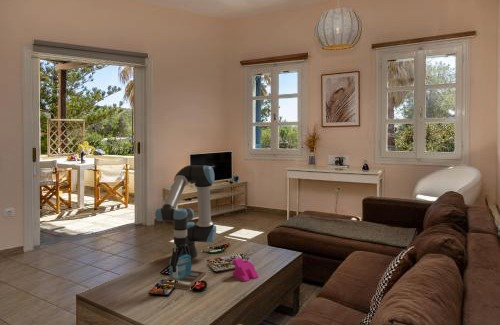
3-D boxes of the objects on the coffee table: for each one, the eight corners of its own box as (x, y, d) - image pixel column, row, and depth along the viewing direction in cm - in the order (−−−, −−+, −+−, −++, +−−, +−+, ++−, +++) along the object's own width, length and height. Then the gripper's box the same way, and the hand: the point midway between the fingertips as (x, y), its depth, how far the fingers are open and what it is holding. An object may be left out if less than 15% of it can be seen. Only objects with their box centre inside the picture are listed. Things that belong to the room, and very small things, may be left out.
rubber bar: (181, 274, 231) (181, 271, 230) (199, 276, 227) (199, 273, 227) (178, 276, 227) (178, 273, 227) (196, 279, 223) (196, 276, 223)
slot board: (180, 272, 235) (180, 268, 235) (206, 276, 230) (206, 271, 230) (161, 286, 214) (161, 281, 214) (190, 290, 209) (190, 286, 209)
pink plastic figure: (232, 275, 232) (232, 259, 231) (246, 271, 238) (246, 255, 237) (244, 282, 222) (245, 264, 221) (258, 277, 229) (258, 261, 228)
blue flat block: (174, 281, 211) (174, 260, 210) (169, 278, 214) (169, 258, 213) (191, 275, 220) (191, 254, 219) (186, 273, 223) (186, 253, 222)
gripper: (184, 230, 228) (185, 265, 230) (163, 241, 204) (163, 280, 206) (196, 231, 226) (196, 266, 227) (175, 243, 202) (176, 282, 204)
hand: (180, 273), depth 217 cm, fingers closed on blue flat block, 13 cm apart
